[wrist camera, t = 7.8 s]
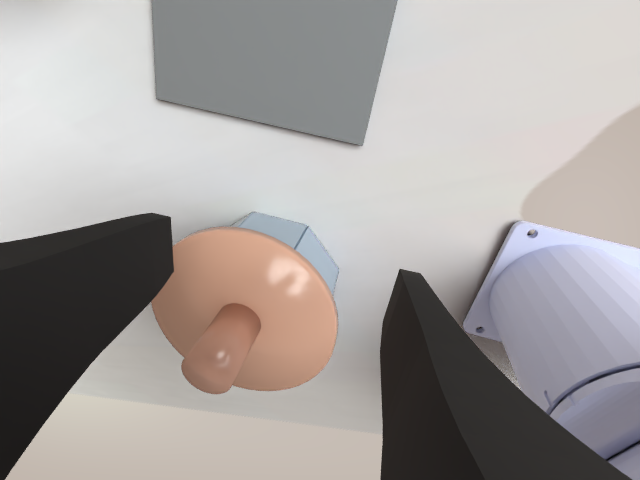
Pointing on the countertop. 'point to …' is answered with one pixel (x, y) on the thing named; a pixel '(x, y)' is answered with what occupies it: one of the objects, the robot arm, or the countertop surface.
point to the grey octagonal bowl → (295, 242)
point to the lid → (246, 312)
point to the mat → (275, 60)
